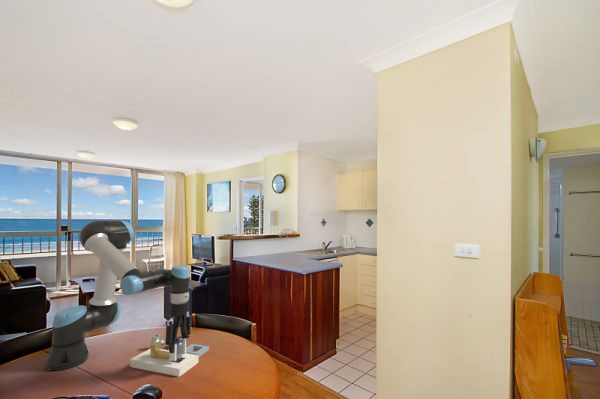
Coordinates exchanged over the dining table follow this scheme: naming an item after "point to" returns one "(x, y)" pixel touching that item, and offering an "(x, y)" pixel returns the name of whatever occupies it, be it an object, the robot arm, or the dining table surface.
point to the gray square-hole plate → (200, 348)
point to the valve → (157, 340)
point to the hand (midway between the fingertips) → (178, 356)
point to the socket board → (164, 363)
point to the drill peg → (179, 349)
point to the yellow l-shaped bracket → (158, 351)
